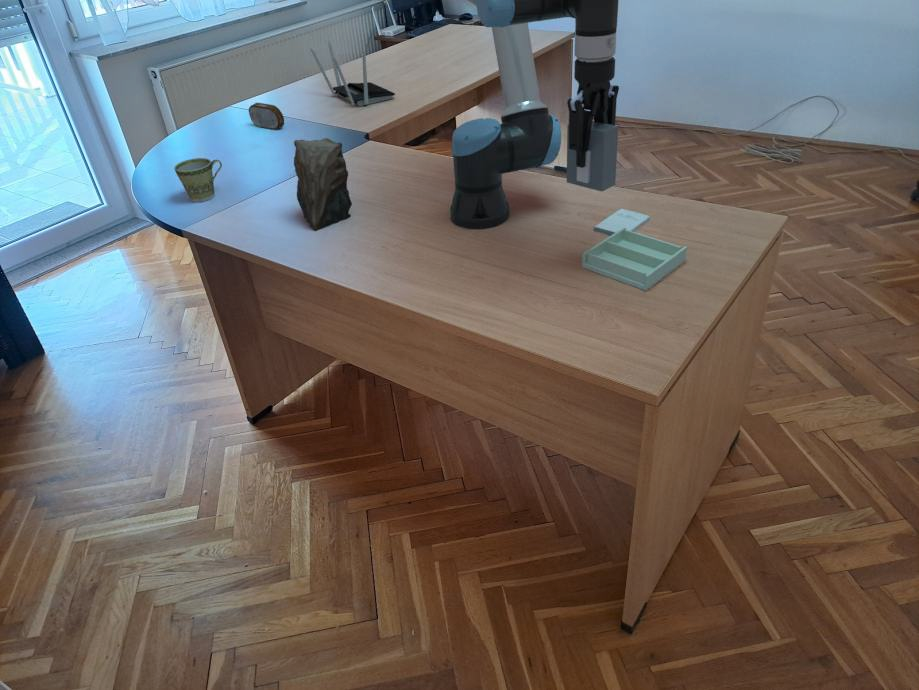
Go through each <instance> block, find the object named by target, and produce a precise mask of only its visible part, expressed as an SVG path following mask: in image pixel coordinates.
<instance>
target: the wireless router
mask: <svg viewBox="0 0 919 690" xmlns="http://www.w3.org/2000/svg"><path fill="white" fill-rule="evenodd" d="M326 41H327V45H328V50H329V53H330V58H331V63H332V68H333V72H334V76H335V82H336V86H335V87H333V85H332V84H331V81H330V80H329V78H328V76H327V74H326V72H325V70H324V68H323V66H322V64H321V61H320V60H319V58H318V55H317V54H316V52H315V50H314V49H312V48H309V49H310V51H311V53H312V56H313V58H314V59H315V62H316V64H317V65H318V67H319V69H320V72H321V74H322V75H323V77H324V80H325V82H326V83H327V85H328V88H329V90H330V92H331V94H332V96H336V95H337V96H338V97H339V98H340V97H341V98H342V99H344V100H346V101H349V102H350V103H351V106H353V107H354V106H355V105H356V106H357V107H363V106H366V105H370V104H371V105H372V104H375V103H379V102H384V101H388V100H392V99H393V98H394V96H396V93H395V92H393V91H390V90H388V89H386V88H384V87H381V86H380V85H378V84H375V83H373V82H369V81H368V74H367V72H368V71H367V61H366V60H367V59H366V58H367V56H366V52H364V53H363V54H362V56H361V57H362V76H363V77H362V78H363V82H358V83H357V82H348V83H347V82H346V79H345V77H344V74H343V72H342V69H341V68H340V67H341V66H340V64H339V62H338V61H337V59H336V58H335V55H334V50H333V47H332V43H331V40H330V39H329V38H327V39H326ZM341 81H342V82H341ZM342 84H343V85H342Z"/></svg>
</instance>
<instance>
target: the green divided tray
mask: <svg viewBox="0 0 919 690" xmlns="http://www.w3.org/2000/svg"><path fill="white" fill-rule="evenodd" d="M687 251H688V246H685V245H684V246H682V245H679V244H675V243H671V242H668V241H665V240H662V239H658V238H655V237H651V236H648V235H645V234H643V233H638V232H636V231H634V232H633V231H630V230H627V229H626V228H625V227H623V228H622V229H620V230H619V231H617V232H616V233H614V234H613V235H611V236H610V235H608V237H607V238H604V239H603V240H602V241H600V242H598V243H597V244H596V245H594V246H592V247H591V248H590V249H588V250H586V251H584V252H583V253H582V259H581V260H582V262H581V268H583V269H585V270H588V271H591V272H593V273H597V274H598V275H602V276H605V277H606V278H610V279H613V280H615V281H618V282H620V283H624V284H626V285H629V286H632V287H635V288H637V289H640V290H643V291H648V290H649V289H650V288H652V287H653V286H654V285H655V284H657V283H658V282H659V281H661V280H662V279H663V278H665V277H667V275H668V274H670V273H671V272H673V271H674V270H675V269H677V268H678V267H679V266H681V265H682V264H683V263H685V262H686V260H687V255H688V254H687Z"/></svg>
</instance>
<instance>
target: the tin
mask: <svg viewBox="0 0 919 690" xmlns="http://www.w3.org/2000/svg"><path fill="white" fill-rule="evenodd" d="M248 113H249V114H248V115H249V118H250V120H251V122H252V123H253V124H254V125H255V126H257V127H258V128H262V129H268V130H272V131H273V130H274V131H276V130H279V129H281V128H283V127H284V125H285V118H284V114H283V113H282V111H281V110H280V108H278V106H276V105H275V104H270V103H263V102H255V103H253V104H251V105H250V106H249V108H248Z"/></svg>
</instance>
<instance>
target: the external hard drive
mask: <svg viewBox="0 0 919 690" xmlns="http://www.w3.org/2000/svg"><path fill="white" fill-rule="evenodd" d="M650 220H651V219H650V215H647V214H643V213H639V212H636V211H633V210H629V209H628V210H627V209H625V208H620V209H618V210H617V211H615V212H614V213H612V214H611V215H609V216H608V217H606V218H605V219H604V220H602V221H601V222H599V223H598V224H596V225H595V226H593V231H594V232H596V233H600V234H603V235H607V236H611V235H613V234H614V233H616V232H617V231H619V230H620V229H622V228H623V227H625V228H626V229H627V230H630V231H633V232H636V231H637V230H638V229H640V228H641V227H643V226H644V225H645V224H646V223H648V222H649V221H650Z"/></svg>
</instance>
